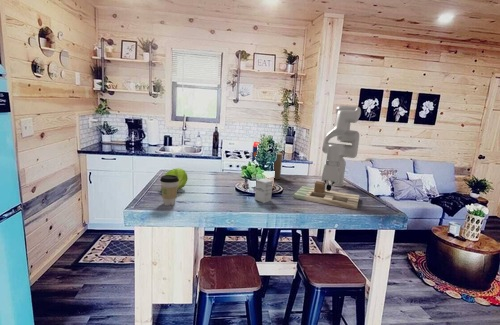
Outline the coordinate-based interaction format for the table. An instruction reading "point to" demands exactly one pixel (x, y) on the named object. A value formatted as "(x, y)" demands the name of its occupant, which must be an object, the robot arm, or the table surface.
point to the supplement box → (263, 190)
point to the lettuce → (179, 176)
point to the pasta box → (254, 150)
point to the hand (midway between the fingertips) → (328, 190)
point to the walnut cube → (319, 187)
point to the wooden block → (278, 166)
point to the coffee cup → (169, 189)
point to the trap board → (328, 197)
